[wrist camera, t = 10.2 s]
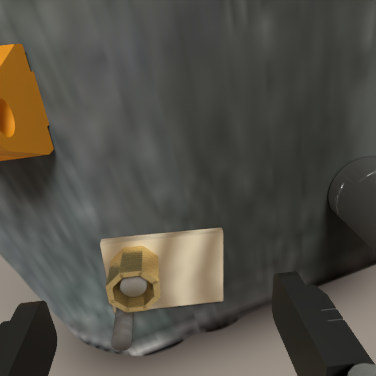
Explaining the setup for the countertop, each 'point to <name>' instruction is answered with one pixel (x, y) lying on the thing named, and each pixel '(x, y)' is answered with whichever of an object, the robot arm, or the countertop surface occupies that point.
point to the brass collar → (128, 267)
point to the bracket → (21, 108)
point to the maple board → (170, 272)
